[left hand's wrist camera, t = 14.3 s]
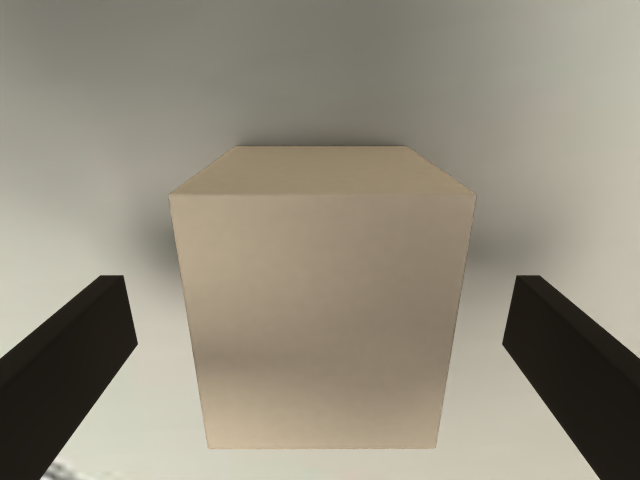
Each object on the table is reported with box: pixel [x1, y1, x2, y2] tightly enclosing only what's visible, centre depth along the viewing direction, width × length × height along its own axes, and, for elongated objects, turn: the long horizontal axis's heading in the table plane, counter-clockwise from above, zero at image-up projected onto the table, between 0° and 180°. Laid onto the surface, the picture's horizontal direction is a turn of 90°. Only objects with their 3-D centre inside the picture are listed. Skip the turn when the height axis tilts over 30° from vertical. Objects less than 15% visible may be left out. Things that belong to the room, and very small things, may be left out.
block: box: [168, 146, 477, 449], centre depth 14 cm, size 8×9×8 cm
